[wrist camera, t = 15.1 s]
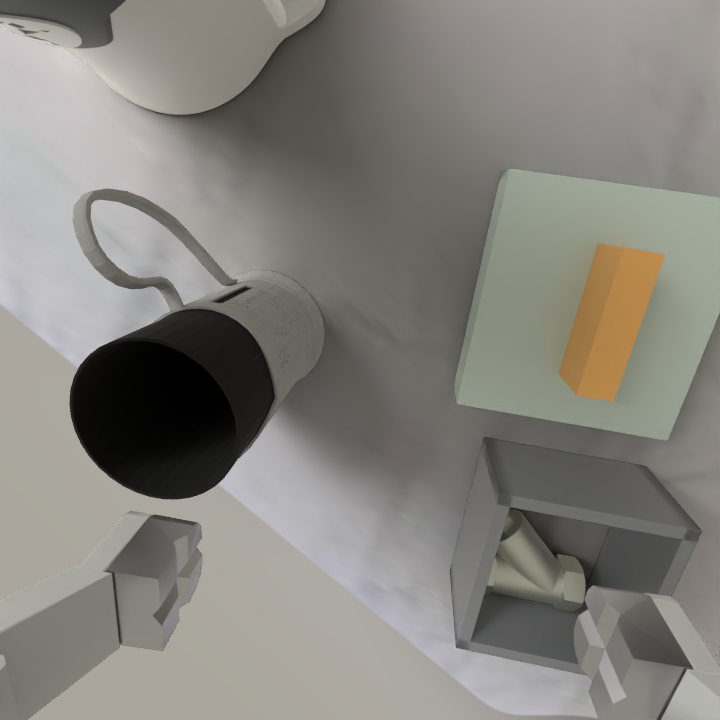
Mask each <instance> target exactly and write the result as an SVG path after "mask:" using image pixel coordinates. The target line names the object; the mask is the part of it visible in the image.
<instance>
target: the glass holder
mask: <svg viewBox="0 0 720 720" xmlns="http://www.w3.org/2000/svg"><path fill="white" fill-rule="evenodd" d="M95 200H108V201H115V202H120V203H123V204H126V205H129V206H131V207H134V208H137V209H139V210H140V211H142V212H144V213H145V214H147V215H149V216H151V217H152V218H154V219H155V220H157V221H158V222H159V223H161V224H162V225H164V226H165V227H166V228H168V229H169V230H170V231H171V232H172V233H173V234H174V235H175V236H176V237H177V238H178V239H179V240H180V241H181V242H182V243H183V244H184V245H185V246H186V247H187V248H188V249H189V250H190V251H191V252H192V253H193V254H194V255H195V257H196V258H197V259H198V260H199V261H200V262H201V263H202V265H203V266H204V267H205V268H206V269H207V270H208V271H209V272H210V273H211V274H212V275H213V276H214V277H215V278H216V279H217V280H218V281H219V282H220V283H221V284H222V285H223V286H222V287H221V288H220V289H219V290H218V291H217V292H215V293H212V294H210V295H208V296H205V297H203V298H201V299H198V300H196V301H194V302H191V303H189V304H187V305H183V302H182V300H181V298H180V296H179V294H178V292H177V290H176V289H175V287H174V286H173V284H172V283H171V282H170V281H168V280H167V279H166V278H163V277H150V278H137V277H133V276H130V275H128V274H127V273H125V272H124V271H122V270H121V269H119V268H118V267H117V266H116V265H115V264H114V263H113V262H112V261H111V260H110V259H109V258H108V257H107V256H106V254H105V253H104V251H103V250H102V248H101V247H100V246H99V243H98V241H97V238H96V236H95V234H94V230H93V226H92V222H91V218H90V216H91V204H92V203H93V202H94V201H95ZM73 224H74V228H75V232H76V236H77V239H78V241H79V244H80V246H81V248H82V250H83V253H84V254H85V256H86V257H87V258H88V260H89V261H90V263H91V264H92V265H93V267H94V268H95V269H96V270H97V271H98V272H99V273H100V274H102V275H103V276H104V277H105V278H106V279H108V280H109V281H111V282H113V283H114V284H116V285H118V286H121V287H124V288H128V289H142V288H146V287H151V286H153V287H156V288H157V289H159V290H160V291H161V293H162V294H163V296H164V298H165V300H166V301H167V304H168V306H169V308H170V310H171V312H168V313H166V314H164V315H162V316H161V317H160V318H158V319H157V320H156V321H154V322H153V323H152V324H150V325H148V326H146V327H143V328H141V329H139V330H137V331H134V332H132V333H130V334H128V335H125V336H123V337H121V338H119V339H116V340H114V341H112V342H110V343H108V344H105V345H103V346H101V347H99V348H98V349H96V350H95V351H94V352H92V353H91V354H90V355H89V356H88V357H87V358H86V359H85V360H84V361H83V363H82V364H81V365H80V367H79V369H78V370H77V372H76V374H75V376H74V379H73V383H72V386H71V391H70V412H71V418H72V422H73V425H74V429H75V432H76V434H77V436H78V438H79V440H80V443H81V445H82V446H83V448H84V449H85V450H86V452H87V454H88V455H89V456H90V458H91V459H92V460H93V461H94V462H95V463H96V465H97V466H98V467H99V468H100V469H102V471H104V472H105V473H106V474H107V475H108V476H109V477H110V478H112V479H113V480H115V481H116V482H118V483H119V484H121V485H122V486H124V487H126V488H128V489H130V490H133V491H135V492H137V493H140V494H143V495H146V496H149V497H154V498H161V499H184V498H190V497H193V496H197V495H199V494H202V493H204V492H206V491H208V490H210V489H211V488H213V487H215V486H216V485H217V484H218V483H219V482H220V481H221V480H223V479H224V477H225V476H226V475H227V473H228V472H229V471H230V469H231V468H232V466H233V465H234V464H235V462H236V461H237V459H238V458H240V457H241V456H242V455H243V454H244V453H245V452H246V451H247V450H248V449H249V448H250V447H251V446H252V444H253V443H254V442H255V440H256V439H257V438H258V436H259V435H260V433H261V432H262V431H263V429H264V428H265V426H266V425H267V423H268V422H269V420H270V419H271V418H272V416H273V415H274V413H275V412H276V410H277V409H278V408H279V406H280V405H281V403H282V402H283V400H284V399H285V397H286V396H287V395H288V393H289V392H290V390H291V389H292V387H293V386H294V385H295V383H296V382H297V381H299V380H300V379H302V378H304V377H305V376H306V375H307V374H308V373H309V372H310V371H311V370H312V369H313V368H314V367H315V365H316V364H317V362H318V360H319V358H320V356H321V354H322V351H323V347H324V341H325V328H324V322H323V318H322V314H321V312H320V310H319V308H318V306H317V303H316V302H315V301H314V299H313V298H312V296H311V295H310V294H309V293H308V292H307V291H306V290H305V288H304V287H303V286H301V285H300V284H299V283H297V282H296V281H294V280H293V279H291V278H289V277H287V276H285V275H283V274H279V273H276V272H273V271H265V270H258V271H249V272H245V273H242V274H239V275H237V276H235V277H233V278H232V279H231V278H230V277H229V276H228V275H227V274H226V273H225V272H224V271H223V270H222V269H221V268H220V266H219V265H218V264H217V263H216V262H215V261H214V260H213V258H212V257H211V256H210V255H209V254H208V253H207V251H206V250H205V249H204V248H203V247H202V246H201V245H200V243H199V242H198V241H197V240H196V239H195V238H194V237H193V236H192V235H191V234H190V233H189V231H188V230H187V229H186V228H185V227H184V226H183V225H182V224H181V223H180V222H179V221H178V220H177V219H176V218H175V217H173V216H172V215H170V214H169V213H168V212H166V211H165V210H164V209H162V208H161V207H159V206H157V205H156V204H154V203H152V202H151V201H149V200H147V199H145V198H143V197H140V196H138V195H135V194H133V193H130V192H128V191H121V190H114V189H101V190H96V191H90V192H88V193H86V194H83V195H82V196H81V198H80V199H79V200H78V201H77V203H76V204H75V205H74V211H73Z"/></svg>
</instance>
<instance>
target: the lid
mask: <svg viewBox="0 0 720 720" xmlns="http://www.w3.org/2000/svg"><path fill="white" fill-rule="evenodd" d="M719 314H720V197H714V196H707V195H700V194H693V193H685V192H678V191H671V190H664V189H656V188H649V187H642V186H635V185H627V184H620V183H613V182H606V181H598V180H591V179H584V178H577V177H569V176H562V175H555V174H548V173H540V172H533V171H526V170H519V169H511V168H510V169H507V170H505V171H502V172H501V175H500V180H499V184H498V189H497V193H496V198H495V202H494V207H493V211H492V216H491V220H490V225H489V229H488V234H487V238H486V243H485V247H484V252H483V256H482V261H481V265H480V270H479V274H478V279H477V283H476V288H475V292H474V297H473V301H472V306H471V310H470V315H469V319H468V324H467V328H466V333H465V337H464V342H463V346H462V351H461V355H460V360H459V364H458V369H457V373H456V378H455V382H454V393H455V398H456V403H457V404H459V405H465V406H470V407H476V408H482V409H488V410H493V411H499V412H505V413H510V414H516V415H522V416H528V417H533V418H539V419H545V420H550V421H556V422H562V423H568V424H573V425H579V426H585V427H590V428H596V429H602V430H608V431H613V432H619V433H625V434H630V435H636V436H642V437H648V438H653V439H659V440H665V441H668V439H669V436H670V434H671V431H672V429H673V426H674V424H675V422H676V419H677V417H678V414H679V412H680V409H681V407H682V404H683V402H684V400H685V397H686V395H687V392H688V390H689V387H690V385H691V382H692V380H693V377H694V375H695V373H696V370H697V368H698V365H699V363H700V360H701V358H702V355H703V353H704V350H705V348H706V346H707V343H708V341H709V338H710V336H711V333H712V331H713V328H714V326H715V323H716V321H717V319H718V316H719Z"/></svg>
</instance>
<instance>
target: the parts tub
mask: <svg viewBox="0 0 720 720" xmlns="http://www.w3.org/2000/svg"><path fill="white" fill-rule="evenodd" d="M510 507H512V508H518V509H523V510H528V511H534V512H539V513H544V514H549V515H555V516H560V517H565V518H571V519H576V520H581V521H586V522H592V523H597V524H602V525H608V526H610V529H609V532H608V534H607V537H606V539H605V542H604V544H603V547H602V550H601V552H600V555H599V557H598V560H597V563H596V565H595V568H594V570H593V573H592V575H591V578H590V581H589V583H588V586H587V588H586V590H585V596H586V594H587V591H588V589H589V588H591V587H592V586H593V585H594V586H601V587H607V588H614V589H621V590H627V591H634V592H641V593H649V594H656V595H663V596H670V597H671V596H672V594H673V592H674V590H675V588H676V586H677V583H678V581H679V579H680V577H681V575H682V573H683V571H684V569H685V566H686V564H687V562H688V560H689V558H690V556H691V554H692V552H693V549H694V547H695V545H696V543H697V541H698V539H699V537H700V535H701V532H702V531H701V529H700V528H699V527H698V526H697V525H696V524H695V522H694V521H693V520H692V519H691V518H690V517H689V516H688V514H687V513H686V512H685V511H684V510H683V509H682V507H681V506H680V505H679V504H678V503H677V502H676V500H675V499H674V498H673V497H672V496H671V495H670V494H669V492H668V491H667V490H666V489H665V488H664V487H663V485H662V484H661V483H660V482H659V481H658V480H657V478H656V477H655V476H654V475H653V474H652V473H651V472H650V470H649V469H648V468H647V467H646V466H641V465H636V464H630V463H625V462H619V461H613V460H608V459H602V458H597V457H591V456H585V455H580V454H574V453H569V452H563V451H558V450H552V449H546V448H541V447H535V446H530V445H524V444H518V443H513V442H507V441H502V440H496V439H491V438H485V437H484V440H483V444H482V448H481V451H480V455H479V459H478V463H477V467H476V471H475V475H474V479H473V483H472V487H471V491H470V494H469V498H468V502H467V506H466V510H465V514H464V518H463V522H462V526H461V530H460V533H459V537H458V541H457V545H456V549H455V553H454V557H453V561H452V565H451V569H450V579H451V591H452V603H453V615H454V628H455V640H456V648H460V649H465V650H469V651H474V652H479V653H484V654H488V655H493V656H498V657H502V658H507V659H512V660H517V661H521V662H526V663H531V664H535V665H540V666H545V667H550V668H554V669H559V670H564V671H568V672H573V673H578V674H583V675H587V674H586V673H585V672H584V671H583V670H582V669H581V668H580V665H579V663H578V660H577V657H576V653H575V647H574V627H575V624H576V621H577V618H578V616H579V615H580V614H582V613H583V612H585V611H586V610H588V607H587V605H586V602H585V600H584V602H583V604H582V606H581V607H580V608H579V609H578V610H576V611H574V612H569V611H564V610H558V609H555V608H554V607H553V605H552V604H549V603H544V602H539V601H534V600H528V599H523V598H518V597H513V596H508V595H503V594H497V593H492V592H491V593H490V594H488V595H487V596H486V595H484V594H485V590H486V587H487V583H488V580H489V577H490V573H491V570H492V566H493V563H494V560H495V556H496V553H497V549H498V546H499V542H500V539H501V536H502V532H503V529H504V525H505V522H506V519H507V515H508V512H509V508H510ZM584 599H585V598H584ZM587 676H588V675H587Z"/></svg>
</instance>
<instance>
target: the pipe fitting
mask: <svg viewBox="0 0 720 720" xmlns="http://www.w3.org/2000/svg"><path fill="white" fill-rule="evenodd" d="M585 590H586V584H585V575H584V571H583V568H582V566H581V564H580V563H579V561H578V560H577V559H576V558H575V557H572V556H567V555H561V554H557V555H555V556H553V554H552V553H551V552H550V550H549V549H548V548H547V546H546V545H545V543H544V542H543V541H542V539H541V538H540V537H539V535H538V534H537V533H536V531H535V530H534V529H533V527H532V526H531V525H530V523H529V522H528V521H527V519H526V518H525V517H524V515H523V514H522V513H521V512H520V511H519V510H516V509H509V512H508V515H507V519H506V522H505V525H504V529H503V532H502V536H501V539H500V542H499V546H498V549H497V553H496V556H495V560H494V563H493V566H492V570H491V573H490V577H489V580H488V583H487V587H486V590H485V594H484V595H486V596H487V595H488V594H490V593H491V592H492V593H497V594H503V595H508V596H513V597H518V598H523V599H528V600H534V601H539V602H544V603H549V604H552V605H553V607H554V608H555V609H558V610H564V611H569V612H574V611H576V610H578V609H579V608H580V607H581V606H582V604H583V602H584V598H585Z"/></svg>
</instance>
